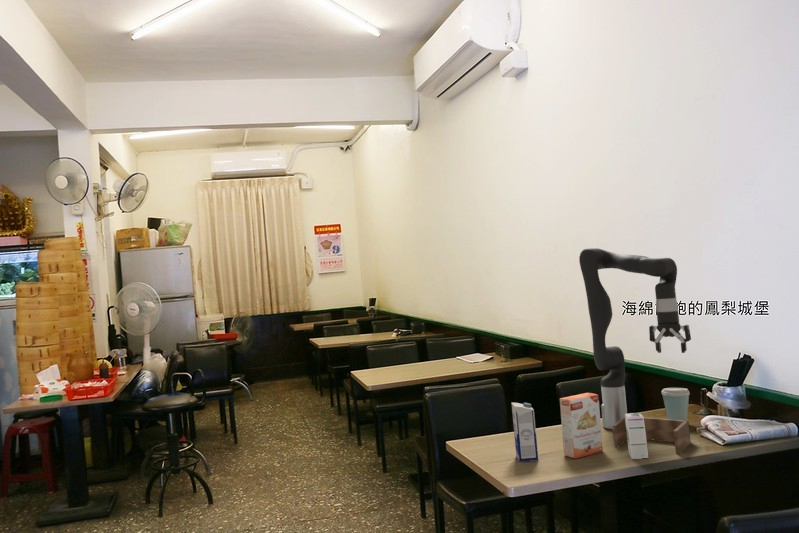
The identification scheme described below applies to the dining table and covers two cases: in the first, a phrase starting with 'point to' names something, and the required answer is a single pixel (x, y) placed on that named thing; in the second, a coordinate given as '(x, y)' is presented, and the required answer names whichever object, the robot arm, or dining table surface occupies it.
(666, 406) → the disposable coffee cup
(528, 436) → the milk carton
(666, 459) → the dining table surface
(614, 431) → the wooden u-shaped bracket
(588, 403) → the cracker box
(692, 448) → the dining table surface
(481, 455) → the dining table surface
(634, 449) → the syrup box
